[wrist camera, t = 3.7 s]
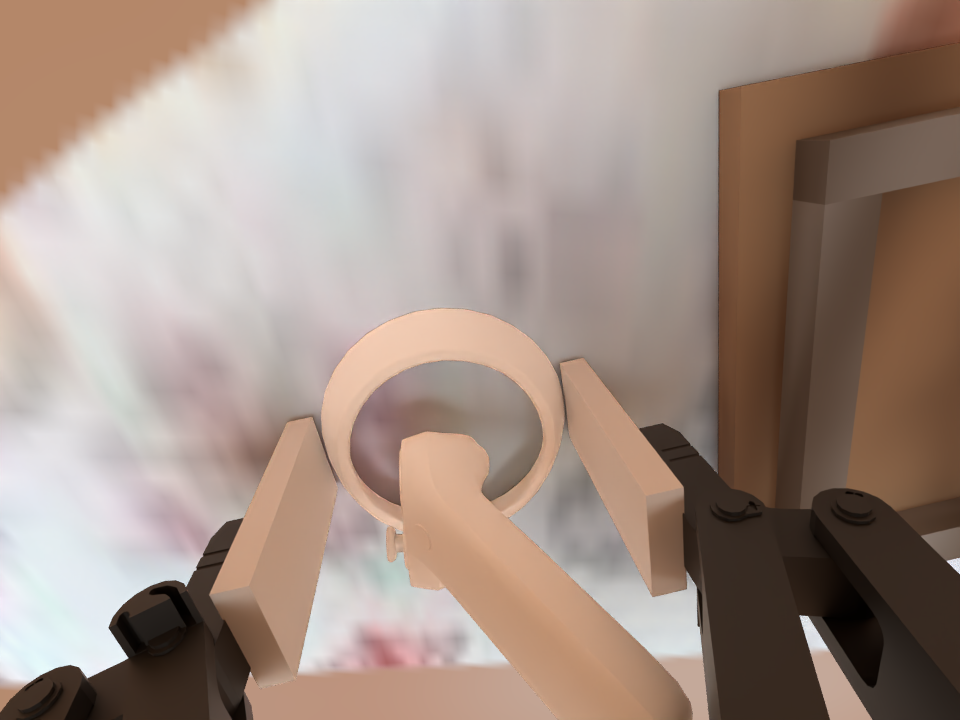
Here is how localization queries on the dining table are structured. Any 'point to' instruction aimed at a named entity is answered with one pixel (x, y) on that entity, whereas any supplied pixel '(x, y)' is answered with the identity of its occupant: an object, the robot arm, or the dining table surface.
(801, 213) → the picture frame
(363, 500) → the hook
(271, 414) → the dining table surface
